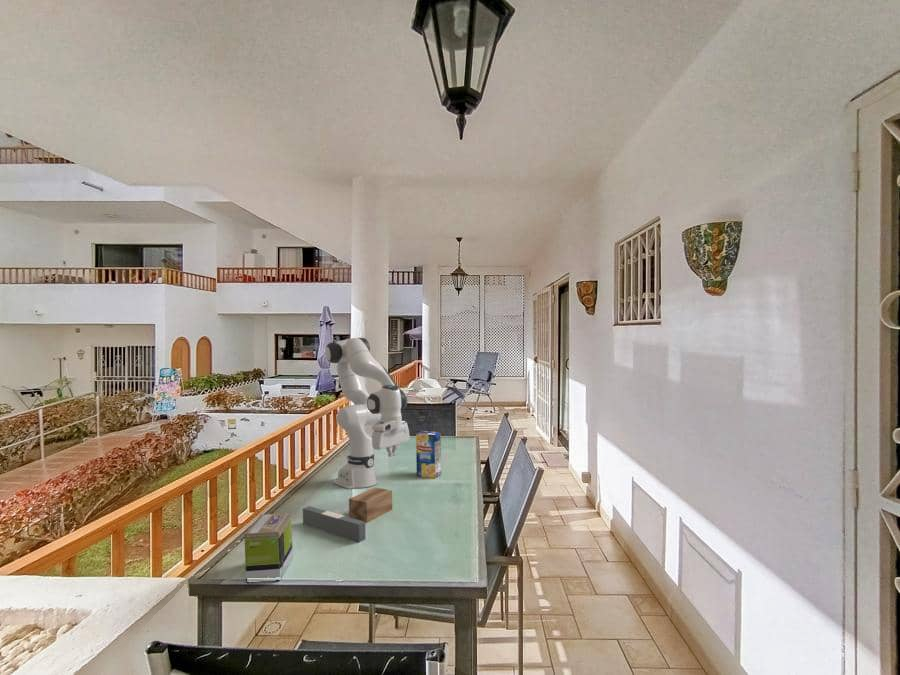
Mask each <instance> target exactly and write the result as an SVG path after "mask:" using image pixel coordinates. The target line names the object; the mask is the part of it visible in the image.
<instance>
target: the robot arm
mask: <svg viewBox="0 0 900 675" xmlns="http://www.w3.org/2000/svg"><path fill="white" fill-rule="evenodd" d="M370 346H371V345H370V343H369V341H368V339H367V338H366V337H365V338H364V337H353V338H352V337H351V338H346V339H343V340H337V341H332V342H329V343H327V344H326V346H325V357H326V359H327V361H328V362H330V364H331V363H332V364H336V370H337V376H338V381H339V385H340V388H341V391H342V394H343V398H345V399H347V400H349V401H351V403H353V404H351V405H347V406H344V407H342V408H340V409H338V411H337V413H336V422H337V425H338V426H339V427H340V428H341V429H343V430H344V431H345V433H346V435H347V437H348V442H349V453H350V455H346V460H347V462H346V463H345V464H344V465H343V466H342V467H340V468H339V469H338V471H337V478H335V479H333V480H332V484H334V483H335V485H337V486H340V487H343V488H345V489H348V490H349V489H360V488H362V489H363V488H369V487H373V486H375V485H376V484H377V483H378V481H377V476H376V470H375V464H374V463H375V453H374V450H377V451H381V450H383V449H385V450H386V452H387V456H388V458H392V457H396V456H397V449H398V448H399V447H398V446H399V445H401V444H404V443H408V442H409V441H410V429H409V426H408V422H407V421H405V420H403V418H402V412H403V411H404V410H405V409H406V407H407V405H408V397H407V394H406V393H405V392H404V391H403V390H402V389H401V388H400V387H399V385H397V383H396V382H395V380H394V379H393V377H392V376H391V374H390V373H389V372H388V370H387V369H386V368H385V367H384V365H382V364H381V363H379V362H378V361H377V360H376V359H375V358H374V357H373V355H372V354H371V347H370ZM363 378H367V379H372V380H374V381H377V382H378V383H379V384H381V388H380V389H379V390H378V391H376V392H372V393H370V394H369V392H368V391H367V389H366V386H365V383H364V381H363ZM367 426H372V427H371V428H372V429H371V430H372V431H373V432H372V436H371V435H370V434H368V433H366V432H365V427H367Z"/></svg>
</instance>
